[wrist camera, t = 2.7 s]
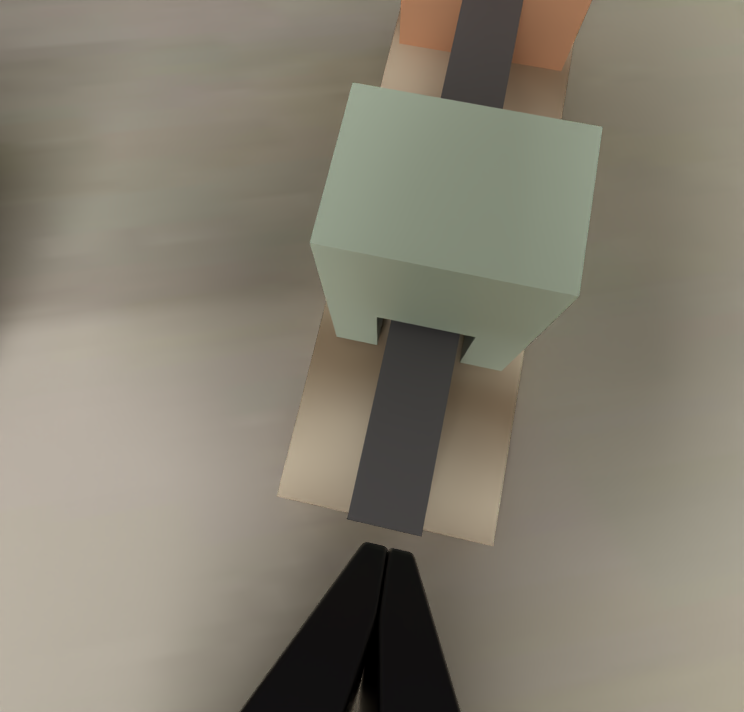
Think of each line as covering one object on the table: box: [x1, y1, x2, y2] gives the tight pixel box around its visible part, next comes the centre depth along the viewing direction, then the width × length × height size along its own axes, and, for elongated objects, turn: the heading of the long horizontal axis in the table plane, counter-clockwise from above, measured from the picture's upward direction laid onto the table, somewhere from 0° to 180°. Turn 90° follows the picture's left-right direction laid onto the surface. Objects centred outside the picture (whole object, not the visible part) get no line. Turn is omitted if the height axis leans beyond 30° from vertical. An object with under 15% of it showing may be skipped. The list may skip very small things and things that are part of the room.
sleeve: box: [310, 83, 603, 371], centre depth 15 cm, size 4×6×7 cm
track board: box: [277, 8, 574, 546], centre depth 20 cm, size 21×7×2 cm, turn 168°
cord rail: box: [347, 0, 523, 536], centre depth 18 cm, size 20×2×3 cm, turn 168°
